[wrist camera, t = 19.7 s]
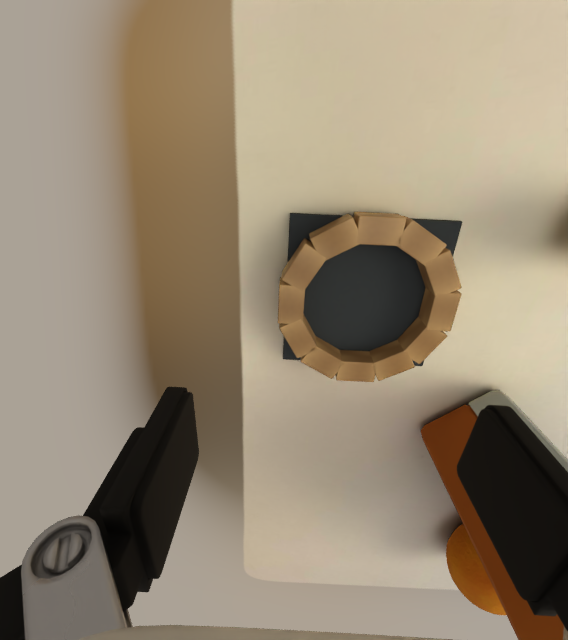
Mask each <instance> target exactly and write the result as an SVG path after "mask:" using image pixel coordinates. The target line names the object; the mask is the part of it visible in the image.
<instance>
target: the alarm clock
mask: <svg viewBox="0 0 568 640" xmlns="http://www.w3.org/2000/svg"><path fill="white" fill-rule="evenodd" d="M468 404H469V405H468V406H466V404H465V405H463V406H461V407H459V408H457V409H455V410H454V411H452V412H450V413H448V414H446V415H444V416H442V417H440V418H438V419H436V420H434V421H432V422H430V423H428V424H426V425H425V426H424V427H423V428H422V429H421V434H422V438H423V441H424V443H425V445H426V447H427V449H428V451H429V454H430V456H431V458H432V460H433V462H434V464H435V466H436V468H437V470H438V472H439V475H440V477H441V479H442V481H443V483H444V485H445V487H446V489H447V491H448V493H449V495H450V497H451V499H452V501H453V504H454V506H455V508H456V510H457V512H458V514H459V516H460V518H461V520H462V522H463V524H464V527H465V529H466V531H467V533H468V535H469V537H470V539H471V541H472V544H473V546H474V548H475V550H476V552H477V554H478V556H479V558H480V560H481V562H482V564H483V567H484V569H485V571H486V573H487V575H488V577H489V579H490V581H491V583H492V585H493V587H494V590H495V592H496V594H497V596H498V598H499V600H500V602H501V604H502V606H503V608H504V610H505V612H506V615H507V616H508V618H509V621H510V623H511V625H512V627H513V629H514V631H515V633H516V635H517V638H518V640H563V631H564V625H563V623H562V622H561V620H560V618H559V616H558V615H556V616H540V615H534V614H533V612H532V610H531V608H530V606H529V604H528V602H527V601H526V600H524V599H523V598H522V597H521V596H520V595H519V593H518V592H517V590H516V588H515V586H514V584H513V582H512V580H511V578H510V576H509V574H508V572H507V571H506V569H505V567H504V565H503V563H502V561H501V559H500V557H499V555H498V553H497V551H496V549H495V547H494V545H493V543H492V541H491V539H490V537H489V536H488V534H487V532H486V530H485V528H484V526H483V524H482V522H481V520H480V518H479V516H478V514H477V512H476V510H475V508H474V506H473V504H472V502H471V501H470V499H469V497H468V495H467V493H466V491H465V489H464V487H463V485H462V483H461V481H460V479H459V477H458V474H457V464H458V462H459V459H460V457H461V455H462V452H463V450H464V448H465V445H466V443H467V441H468V438H469V436H470V434H471V431H472V429H473V427H474V424H475V422H476V420H477V417H478V415H479V413H480V411H481V410H482V409H485V407H486V406H488V405H503V406H509V407H511V408H512V409H513V410H514V411H515V412H516V413H517V414H518V416H519V417H520V418H521V419H522V420H523V421H524V422H525V424H526V425H527V426H528V427H529V428H530V429H531V430H532V432H533V433H534V434H535V435H536V436H537V437H538V438H539V440H540V441H541V442H542V443H543V444H544V445H545V447H546V448H547V449H548V450H549V451H550V452H551V453H552V455H553V456H554V457H555V458H556V459H557V460H558V461H559V463H560V464H561V465H562V466H563V467H564V468H565V469H566V471H567V472H568V459H567V458H566V457H565V456H564V455H563V454H562V453H561V452H560V451H559V450H558V449H557V448H556V447H555V446H554V445H553V443H552V442H551V441H550V440H549V439H548V438H547V437H546V436H545V435H544V434H543V433H542V432H541V431H540V430H539V429H538V427H537V426H536V425H535V424H534V423H533V422H532V421H531V420H530V419H529V418H528V417H527V416H526V415H525V414H524V413H523V412H522V410H521V409H520V408H519V407H518V406H517V405H516V404H515V403H514V402H513V401H512V400H511V399H510V398H509V397H508V396H507V395H506V394H504V393H503V392H501V391H500V390H495V391H490V392H488V393H486V394H484V395H483V396H481V397H479V398H477V399H475V400H473V401H471V402H469V403H468Z"/></svg>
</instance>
